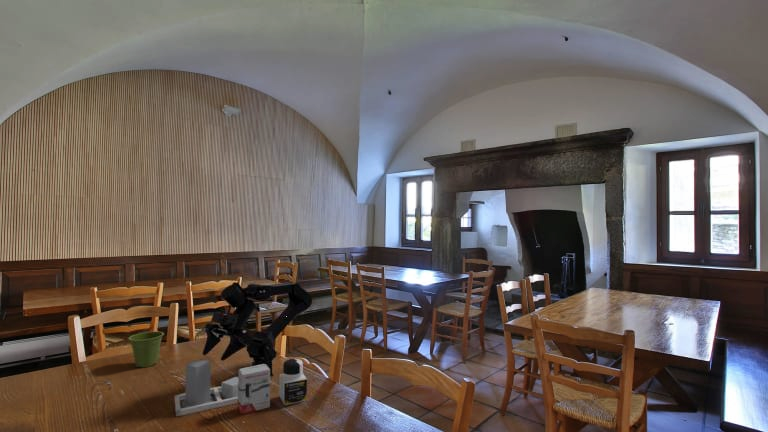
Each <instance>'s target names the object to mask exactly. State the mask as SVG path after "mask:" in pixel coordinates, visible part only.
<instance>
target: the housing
mask: <svg viewBox="0 0 768 432" xmlns="http://www.w3.org/2000/svg"><path fill="white" fill-rule="evenodd" d="M220 393H221V386H214V387H210V401H208V402H206V403H204V404H200V405H196V406H191V405H189V404H186V392H184V393H179V394H175V395H174V406H175V407H174V409H175V416H176V418H177V417H180V416H185V415H186V416H187V415H190V414H195V413H199V412H203V411H208V410H213V409H219V408H221V407H226V406H231V405H235V404H238V397H233V398H229V399H225V398H222V397H221V394H220ZM212 395H213V396H212ZM181 401H182V403H181Z"/></svg>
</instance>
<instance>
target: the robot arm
mask: <svg viewBox="0 0 768 432" xmlns="http://www.w3.org/2000/svg"><path fill="white" fill-rule="evenodd" d="M284 294H285V295H286V294H287V298H288V299H289V300H288V302H287V303H288V304H287V307H286V308H285V309H284V310H283V311H282V312H280V314H279V315H278V316H277V318H276V319H274V320H273V322H272V323H271V324H270V325H269V326H268V327H267V328H266V329H265V330H264V331H260V330H257V331H255V332H254V334H253V335H251V334H250V333H249V332H248V331H247V330H246V329H243V328H244V327H248V326H249V324H250V323H249V322H248V321H249V319H250V317H251V316H252V315H253V313H255V312H260V311H261V308H260V304H259V303H257V302H258V301H259V302H263V301H266V300H268V299H270V298H271V297H273V296H278V295H284ZM220 297H221V299H223V301H225V303H227V304H228V305H229V306H230V307H231V308H233V309H234V308H235V309H234V310H233V312H226V313H221V312H213V314H212V316H211V319H210V322H207V323H206V324H205V326H203V327H204V328H203V329H204V332H205V333H206V340H205V345H204V348H203V350H202V355H203V356H206V355H208V354H209V353H210V352H211V351H212V350H213V349H214V348H215V347H216V346H217V345H218V344H220V342H221V341H222V338H224V336H225V337H229V344H228V345H227V346H226V348H225V350H224V351H223V353H222V355H221V358H220V360H221V361H222V362H223V361H225V360H226V359H228V358H230V357H231V356H232V355H234V354H235V353H237V352H239V351H240V350H242V349H245V348H246V352H247V354H248V356H249V358H250V359H252V362H251V364H250V365H251V366H256V365H261V364H266V365H267V366H268V367H269V368H270V377H273V376H274V372H273V360H274V359H276V357H277V353H278V351H276V350H275V349H274V345H275V340H276V339H277V338H278V336H279V335H280V334H282V332H283V331H284V330H285V328H286V327H287V326H288V325H289V324H290V323H291V322H292V321H293V320H294V319H295V318H296V317H297V315H299V314H302V313H303V312H306V311H307V310H308V309H309V308H311V306H312V305H313V298H312V296H311V294H309V292H308V291H307V290H305V288H303V287H302V286H301V285H300V284H299V283H298V282H293V281H288V282H283V283H282V282H281V283H275V284H258V283H248V284H247V286H246V287H244V288H243V287H242V286H241V284H240V283H239V282H235V281H234V282H233V283H231V284H230V285H228V286H227V287H225V288H223V289H222V291H221V293H220ZM255 301H256V302H255ZM286 316H287V317H286ZM251 366H250V367H251Z"/></svg>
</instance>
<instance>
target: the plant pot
mask: <svg viewBox="0 0 768 432" xmlns="http://www.w3.org/2000/svg"><path fill="white" fill-rule="evenodd" d="M164 335H165V333H164V331H157V330H156V331H145V332H139V333H136V334H133V335H130V336H129V337H128V340H129V342H130V346H131V348H132V354H133V357H134V362H135V367H137V368H139V367H140V368H146V367H147V368H149V367H151V366H153V365H156V364H157V363H158V361H159V360H158V359H159V355H160V354H159V353H160V349H161V343H162V339H163V336H164Z"/></svg>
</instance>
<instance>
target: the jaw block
mask: <svg viewBox="0 0 768 432" xmlns="http://www.w3.org/2000/svg"><path fill="white" fill-rule="evenodd" d="M211 366H212V363H211V361H209V360H205V359H203V358H199V359H197V360H194V361H190V362H187V363H185V393H186V399H185V400H186V404H189V405H191V406H196V405H200V404H204V403H206V402H208V401H210V396H211V394H210V388H211V377H212V376H211Z"/></svg>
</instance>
